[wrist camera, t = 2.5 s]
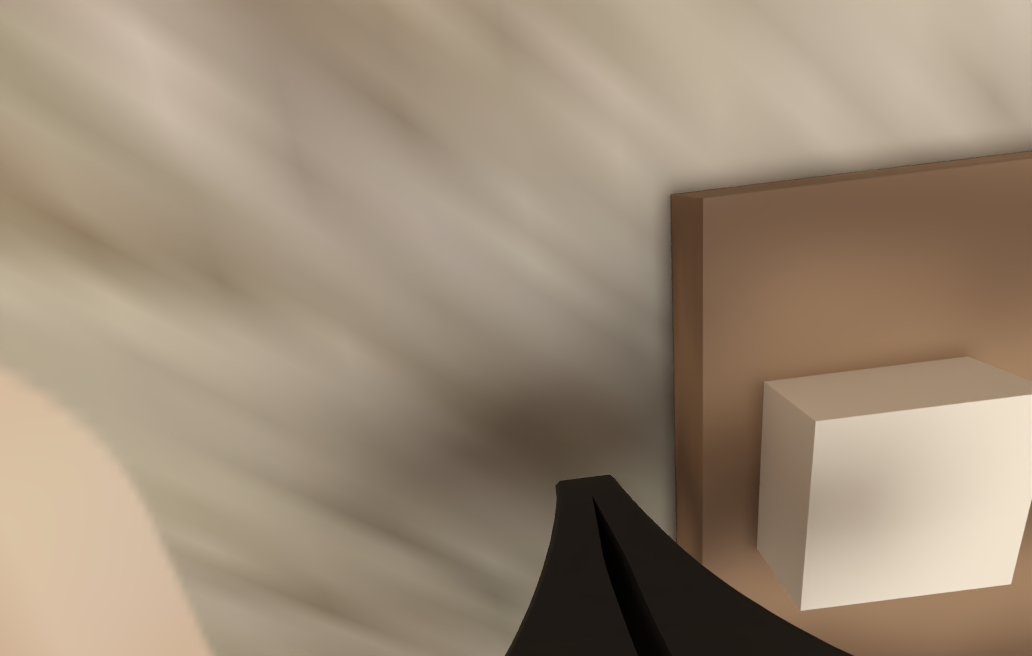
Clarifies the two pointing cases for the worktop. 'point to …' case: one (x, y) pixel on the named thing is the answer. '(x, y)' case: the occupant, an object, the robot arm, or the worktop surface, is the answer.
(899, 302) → the board
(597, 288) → the worktop surface
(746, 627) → the robot arm
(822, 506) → the block
